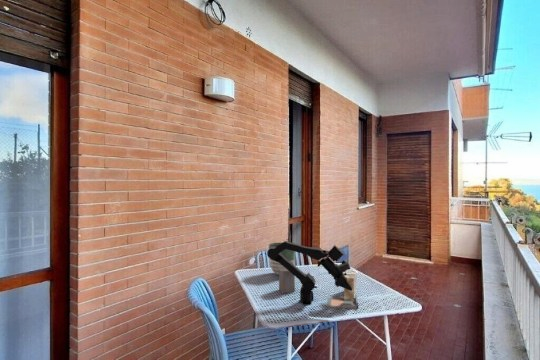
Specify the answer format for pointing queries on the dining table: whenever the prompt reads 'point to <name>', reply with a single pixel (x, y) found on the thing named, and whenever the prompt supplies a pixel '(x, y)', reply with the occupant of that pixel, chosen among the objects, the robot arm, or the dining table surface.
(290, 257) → the planter
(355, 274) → the foam cup
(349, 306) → the tray
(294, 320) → the dining table surface
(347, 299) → the beech block
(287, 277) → the pillar candle
